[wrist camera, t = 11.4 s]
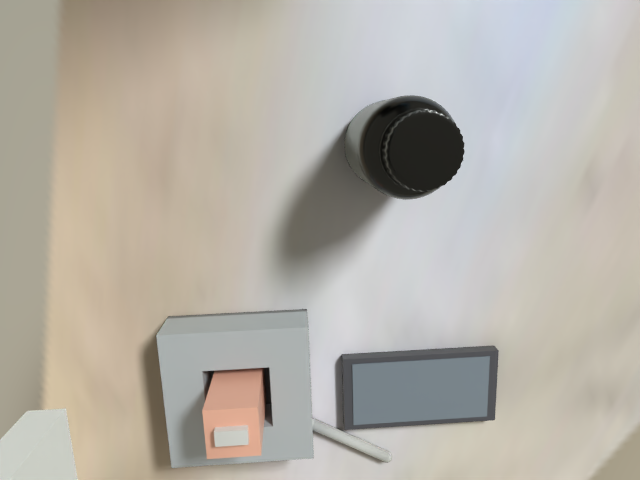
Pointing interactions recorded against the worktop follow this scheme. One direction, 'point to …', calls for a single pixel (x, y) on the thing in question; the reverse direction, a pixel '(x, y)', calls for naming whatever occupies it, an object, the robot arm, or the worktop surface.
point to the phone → (419, 387)
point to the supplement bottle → (404, 146)
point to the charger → (235, 413)
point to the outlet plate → (237, 353)
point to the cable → (351, 441)
